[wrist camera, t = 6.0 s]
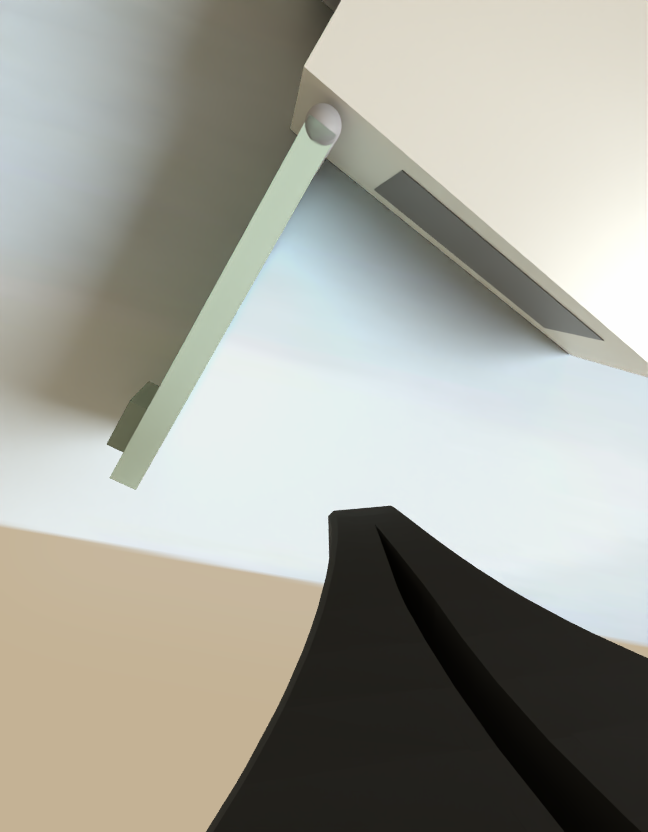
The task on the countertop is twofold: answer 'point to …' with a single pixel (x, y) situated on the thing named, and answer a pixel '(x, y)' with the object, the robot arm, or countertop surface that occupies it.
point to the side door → (222, 300)
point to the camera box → (506, 148)
